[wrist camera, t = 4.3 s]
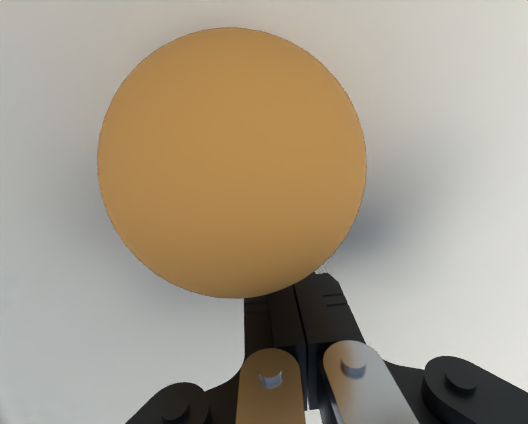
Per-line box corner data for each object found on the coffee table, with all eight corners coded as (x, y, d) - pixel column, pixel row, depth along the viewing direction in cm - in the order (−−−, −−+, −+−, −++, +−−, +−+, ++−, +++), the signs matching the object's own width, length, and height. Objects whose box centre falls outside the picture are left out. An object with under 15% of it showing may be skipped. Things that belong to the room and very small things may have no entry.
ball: (75, 380, 6) (-30, 5, 5) (177, 266, 12) (139, 89, 11) (432, 331, 5) (391, -86, 4) (349, 240, 11) (325, 54, 10)
